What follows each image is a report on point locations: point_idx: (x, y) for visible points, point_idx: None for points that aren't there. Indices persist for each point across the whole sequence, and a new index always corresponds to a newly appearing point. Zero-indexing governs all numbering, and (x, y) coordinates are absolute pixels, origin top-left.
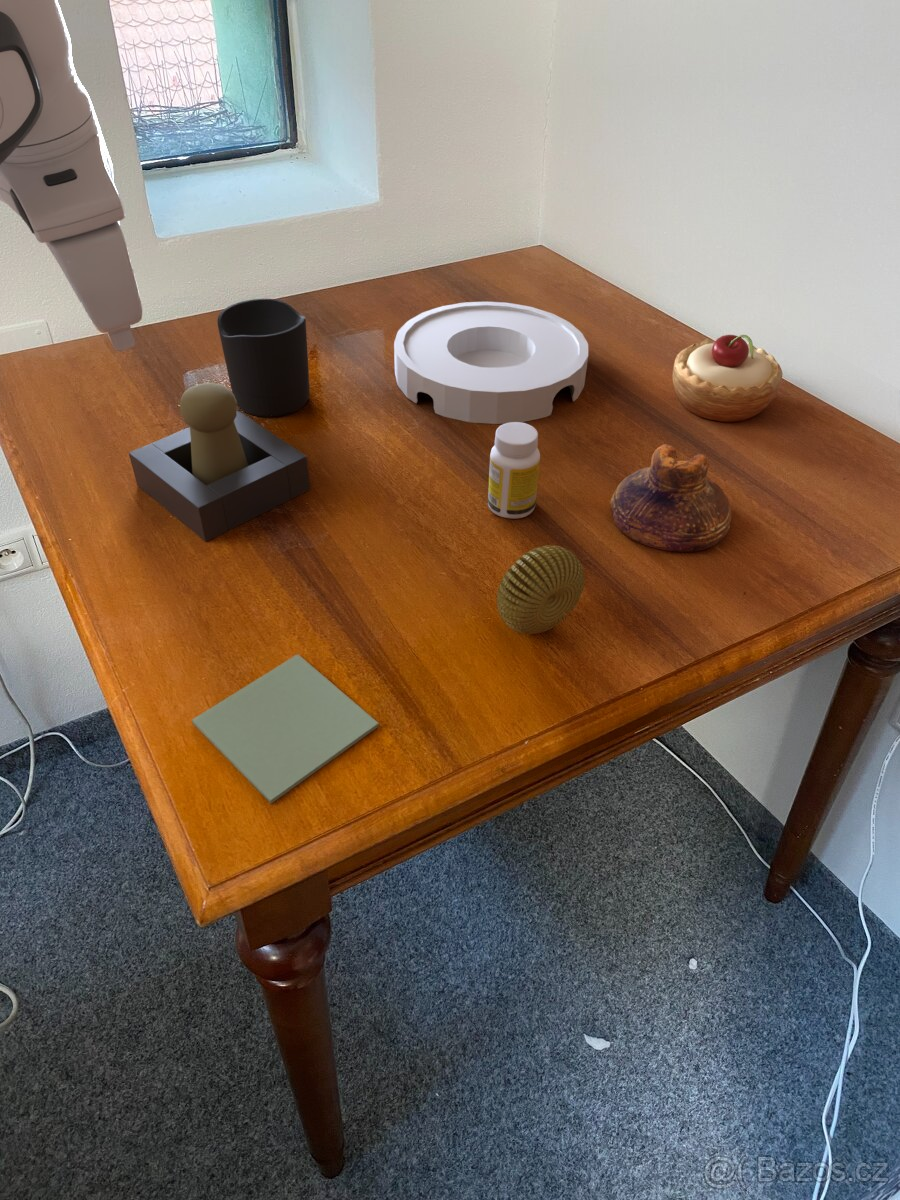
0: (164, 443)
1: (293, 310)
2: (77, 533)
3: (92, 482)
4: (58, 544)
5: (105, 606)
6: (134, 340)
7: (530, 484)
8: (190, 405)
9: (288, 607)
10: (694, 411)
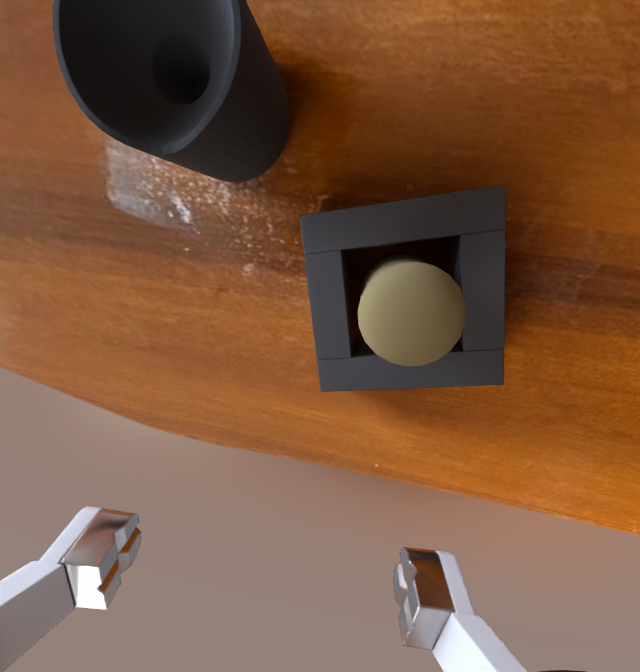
0: (329, 346)
1: None
2: (371, 456)
3: (291, 406)
4: (376, 476)
5: (505, 488)
6: (457, 565)
7: None
8: (427, 361)
9: None
10: None
